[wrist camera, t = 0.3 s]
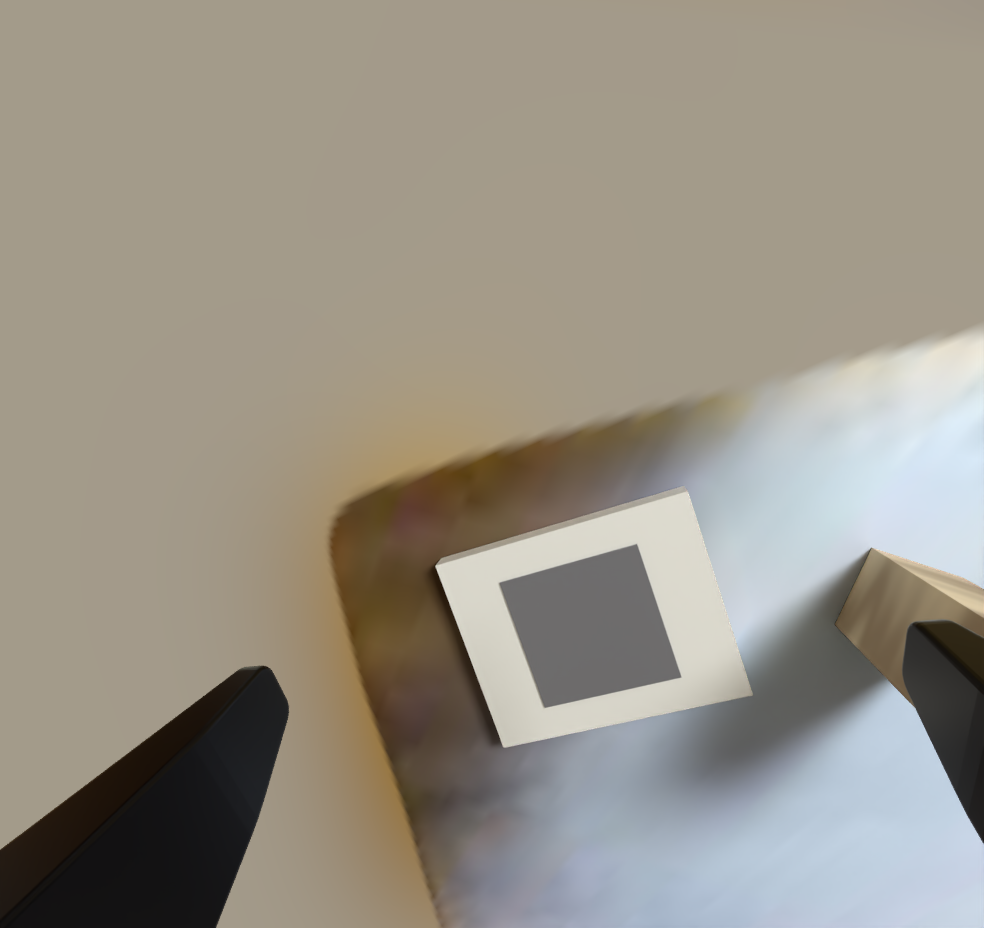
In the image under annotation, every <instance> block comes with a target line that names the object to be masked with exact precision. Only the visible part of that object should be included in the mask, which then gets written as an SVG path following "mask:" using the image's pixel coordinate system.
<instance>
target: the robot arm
mask: <svg viewBox="0 0 984 928" xmlns="http://www.w3.org/2000/svg"><path fill="white" fill-rule="evenodd" d="M902 677H903V681H904V684H905V687H906V689H907V692H908V694H909V696H910V698H911V700H912V702H913V704H914V706H915V708H916V711H917V713H918V715H919V717H920V719H921V721H922V723H923V725H924V727H925V729H926V731H927V734H928V736H929V738H930V740H931V742H932V744H933V746H934V748H935V750H936V752H937V755H938V757H939V759H940V761H941V763H942V765H943V767H944V769H945V771H946V773H947V775H948V778H949V780H950V782H951V784H952V786H953V788H954V790H955V792H956V794H957V796H958V798H959V800H960V802H961V804H962V806H963V808H964V810H965V812H966V814H967V816H968V818H969V819H970V821H971V823H972V825H973V826H974V828H975V830H976V831H977V833H978V835H979V837H980V838H981V840H982V842H983V843H984V637H982V636H980V635H978V634H976V633H975V632H973V631H971V630H969V629H967V628H965V627H963V626H962V625H960V624H958V623H956V622H953V621H951V620H946V619H939V620H924V621H915V622H912V623H911V624H910V625H909V626H908V629H907V632H906V640H905V648H904V655H903V663H902ZM288 713H289V706H288V701H287V699H286V697H285V695H284V693H283V691H282V689H281V687H280V685H279V683H278V681H277V679H276V677H275V675H274V673H273V672H272V670H271V669H270V668H268V667H266V666H254V667H244V668H241V669H239V670H238V671H236V672H235V673H234V674H233V675H231V676H230V677H228V678H227V679H226V680H225V681H223V682H222V683H220V684H219V685H218V686H217V687H215V688H214V689H213V690H211V691H210V692H209V693H207V694H206V695H205V696H203V697H202V698H201V699H199V700H198V701H197V702H195V703H194V704H193V705H191V706H190V707H189V708H188V709H186V710H185V711H183V712H182V713H181V714H179V715H178V716H177V717H175V718H174V719H173V720H172V721H170V722H169V723H168V724H166V725H165V726H164V727H162V728H161V729H160V730H158V731H157V732H156V733H154V734H153V735H152V736H150V737H149V738H148V739H146V740H145V741H144V742H142V743H141V744H140V745H138V746H137V747H136V748H134V749H133V750H132V751H131V752H129V753H128V754H126V755H125V756H124V757H122V758H121V759H120V760H118V761H117V762H116V763H115V764H113V765H112V766H110V767H109V768H108V769H107V770H105V771H104V772H103V773H101V774H100V775H99V776H97V777H96V778H95V779H93V780H92V781H91V782H89V783H88V784H87V785H85V786H84V787H83V788H81V789H80V790H79V791H77V792H76V793H75V794H73V795H72V796H71V797H69V798H68V799H67V800H65V801H64V802H63V803H61V804H60V805H59V806H58V807H56V808H55V809H54V810H52V811H51V812H50V813H48V814H47V815H46V816H44V817H43V818H42V819H40V820H39V821H38V822H36V823H35V824H34V825H32V826H31V827H30V828H28V829H27V830H26V831H24V832H23V833H22V834H21V835H19V836H18V837H16V838H15V839H14V840H13V841H11V842H10V843H9V844H7V845H6V846H4V847H3V848H2V849H1V850H0V928H216V926H217V924H218V921H219V919H220V916H221V913H222V911H223V908H224V906H225V903H226V900H227V898H228V895H229V893H230V890H231V888H232V885H233V883H234V880H235V878H236V875H237V872H238V870H239V867H240V865H241V862H242V860H243V857H244V854H245V852H246V849H247V847H248V844H249V842H250V839H251V836H252V834H253V831H254V828H255V826H256V823H257V820H258V817H259V814H260V811H261V808H262V805H263V802H264V798H265V795H266V792H267V788H268V785H269V781H270V778H271V774H272V771H273V767H274V764H275V761H276V757H277V754H278V751H279V747H280V744H281V740H282V737H283V733H284V730H285V726H286V723H287V720H288Z"/></svg>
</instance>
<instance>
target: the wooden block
mask: <svg viewBox="0 0 984 928" xmlns="http://www.w3.org/2000/svg"><path fill="white" fill-rule="evenodd" d="M939 619H946V620H951V621H953V622H956V623H958V624H960V625H962V626H963V627H965V628H967V629H969V630H971V631H973V632H975V633H976V634H978V635H980V636H982V637H984V589H982V588H981V587H979V586H977V585H975V584H973V583H972V582H970V581H968V580H966V579H964V578H962V577H959V576H956V575H953V574H950V573H947V572H944V571H941V570H938V569H935V568H932V567H929V566H926V565H923V564H920V563H917V562H914V561H910V560H907V559H904V558H901V557H898V556H895V555H892V554H889V553H886V552H883V551H880V550H877V549H874V548H872V549H871V551H870V553H869V555H868V557H867V559H866V561H865V563H864V565H863V567H862V569H861V571H860V573H859V575H858V577H857V579H856V582H855V584H854V586H853V588H852V590H851V592H850V594H849V596H848V598H847V600H846V602H845V604H844V606H843V608H842V610H841V612H840V615H839V617H838V619H837V621H836V623H835V626H836V627H837V628H838V629H839V630H840V631H841V632H842V633H843V634H844V635H845V636H846V637H847V638H848V639H849V640H850V641H851V642H852V643H853V644H854V645H855V646H856V647H857V648H858V649H859V650H860V651H861V652H862V654H863V655H864V656H865V657H866V658H867V659H868V660H869V661H870V662H871V663H872V664H873V665H874V666H875V667H876V668H877V669H878V670H879V671H880V672H881V673H882V674H883V675H884V676H885V677H886V678H887V679H888V680H889V681H890V683H891V684H892V685H893V686H894V687H895V688H896V689H897V690H898V691H899V692H900V693H901V694H902V695H903V696H904V697H905V698H906V699H907V700H908V701H909V702H910V703H911V704H912V705H913V706H914V704H913V702H912V700H911V698H910V696H909V694H908V692H907V689H906V687H905V684H904V681H903V677H902V663H903V655H904V648H905V640H906V632H907V629H908V626H909V625H910V624H911V623H912V622H915V621H924V620H939ZM914 707H915V706H914Z"/></svg>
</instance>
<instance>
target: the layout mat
mask: <svg viewBox="0 0 984 928" xmlns="http://www.w3.org/2000/svg"><path fill="white" fill-rule="evenodd" d="M436 569H437V572H438V574H439V577H440V580H441V582H442V585H443V588H444V590H445V593H446V596H447V598H448V601H449V604H450V606H451V609H452V612H453V614H454V617H455V620H456V622H457V625H458V628H459V630H460V633H461V636H462V638H463V641H464V643H465V646H466V649H467V651H468V654H469V657H470V659H471V662H472V665H473V667H474V670H475V673H476V675H477V678H478V681H479V683H480V686H481V689H482V691H483V694H484V697H485V699H486V702H487V705H488V707H489V710H490V713H491V715H492V718H493V721H494V723H495V726H496V729H497V731H498V734H499V737H500V739H501V742H502V745H503V747H504V748H505V747H510V746H515V745H520V744H524V743H529V742H534V741H539V740H543V739H548V738H553V737H558V736H562V735H567V734H572V733H577V732H581V731H586V730H591V729H596V728H600V727H605V726H610V725H615V724H619V723H624V722H629V721H633V720H638V719H643V718H648V717H652V716H657V715H662V714H667V713H671V712H676V711H681V710H686V709H690V708H695V707H700V706H705V705H709V704H714V703H719V702H724V701H728V700H733V699H738V698H743V697H747V696H752V695H753V693H752V690H751V687H750V684H749V681H748V678H747V675H746V672H745V668H744V665H743V662H742V659H741V656H740V653H739V650H738V647H737V643H736V640H735V637H734V634H733V631H732V628H731V625H730V622H729V618H728V615H727V612H726V609H725V606H724V603H723V600H722V597H721V593H720V590H719V587H718V584H717V581H716V578H715V575H714V572H713V568H712V565H711V562H710V559H709V556H708V553H707V550H706V547H705V543H704V540H703V537H702V534H701V531H700V528H699V525H698V522H697V518H696V515H695V512H694V509H693V506H692V503H691V500H690V497H689V493H688V491H687V490H686V488H685V487H684V486H682V487H678V488H675V489H672V490H668V491H665V492H662V493H658V494H655V495H652V496H648V497H645V498H641V499H638V500H635V501H631V502H628V503H625V504H621V505H618V506H615V507H611V508H608V509H605V510H601V511H598V512H595V513H591V514H588V515H584V516H581V517H578V518H574V519H571V520H568V521H564V522H561V523H558V524H554V525H551V526H548V527H544V528H541V529H538V530H534V531H531V532H528V533H524V534H521V535H517V536H514V537H511V538H507V539H504V540H501V541H497V542H494V543H491V544H487V545H484V546H481V547H477V548H474V549H471V550H467V551H464V552H460V553H457V554H454V555H450V556H447V557H444V558H441V559H440V561H439V562H438V563H437V564H436Z"/></svg>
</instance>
